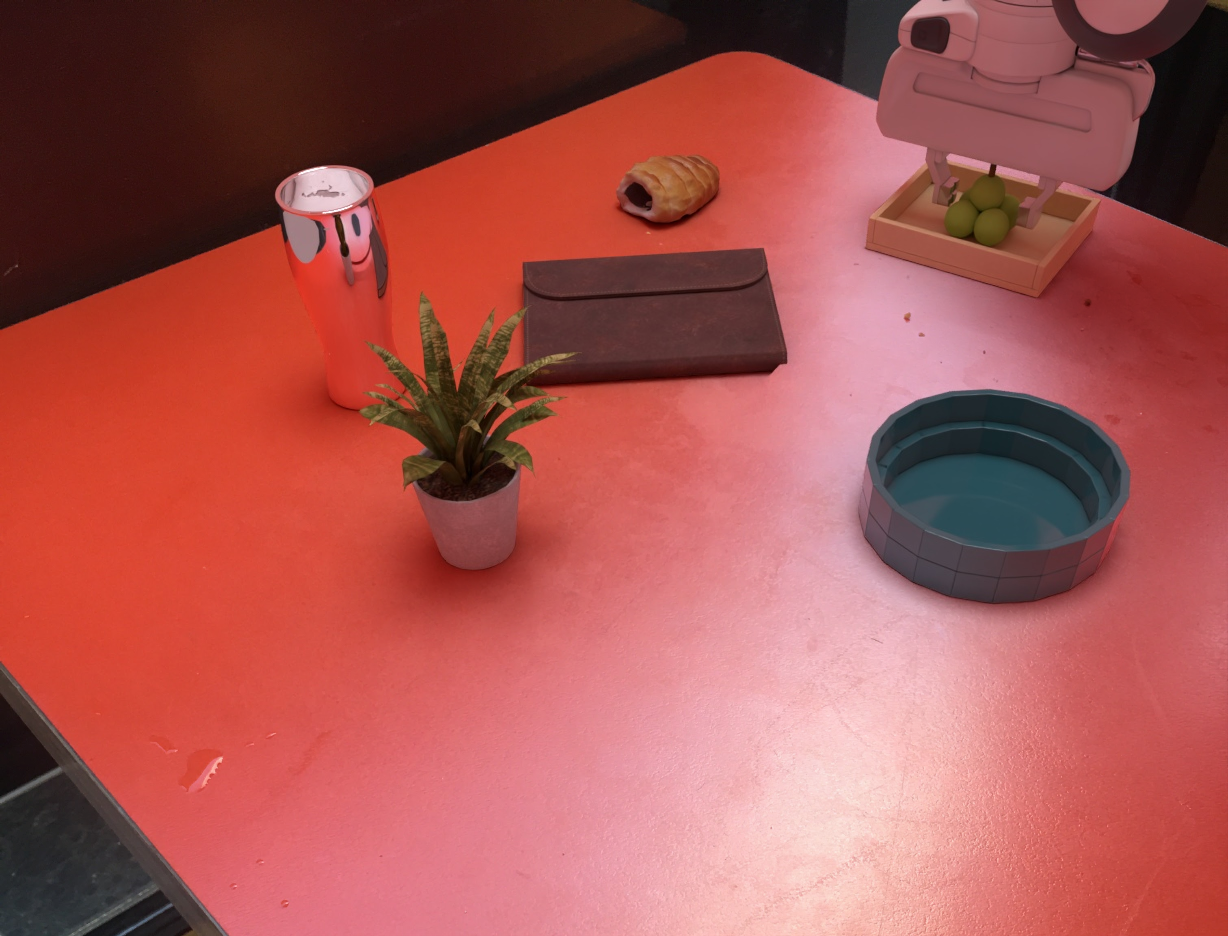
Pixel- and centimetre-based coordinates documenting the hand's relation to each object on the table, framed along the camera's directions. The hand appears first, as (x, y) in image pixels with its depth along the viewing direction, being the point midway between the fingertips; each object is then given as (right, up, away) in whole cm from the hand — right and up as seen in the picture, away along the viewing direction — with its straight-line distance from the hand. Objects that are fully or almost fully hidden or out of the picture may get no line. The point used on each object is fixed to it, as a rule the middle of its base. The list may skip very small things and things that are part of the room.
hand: (984, 213), depth 102 cm
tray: (0, -1, +2) cm, 2 cm away
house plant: (-40, -33, -20) cm, 55 cm away
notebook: (-28, -11, -4) cm, 30 cm away
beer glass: (-50, -17, -8) cm, 53 cm away
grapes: (0, -1, +1) cm, 2 cm away
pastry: (-26, +4, +7) cm, 27 cm away
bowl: (-6, -31, -20) cm, 37 cm away
